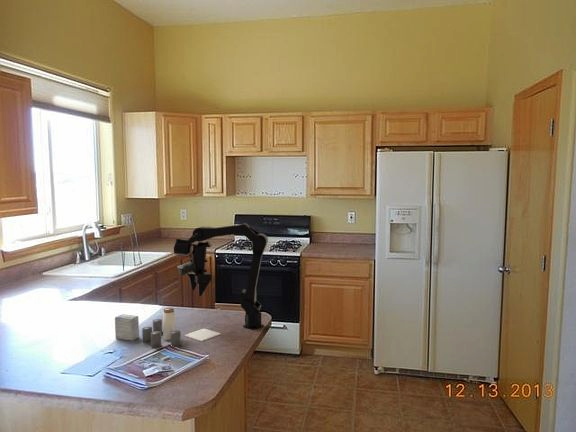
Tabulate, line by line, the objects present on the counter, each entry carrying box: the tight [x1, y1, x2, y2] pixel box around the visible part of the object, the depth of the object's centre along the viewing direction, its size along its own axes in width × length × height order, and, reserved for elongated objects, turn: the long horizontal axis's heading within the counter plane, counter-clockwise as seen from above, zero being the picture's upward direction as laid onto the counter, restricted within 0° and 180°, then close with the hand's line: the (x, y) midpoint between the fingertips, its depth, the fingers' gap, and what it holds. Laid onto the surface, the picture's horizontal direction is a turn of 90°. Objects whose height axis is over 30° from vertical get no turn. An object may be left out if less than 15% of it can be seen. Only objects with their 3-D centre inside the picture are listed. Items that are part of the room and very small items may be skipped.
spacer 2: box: [152, 318, 163, 334], centre depth 169 cm, size 4×4×5 cm
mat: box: [184, 328, 221, 342], centre depth 166 cm, size 10×10×1 cm
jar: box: [162, 307, 176, 341], centre depth 163 cm, size 4×4×12 cm
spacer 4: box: [170, 329, 182, 348], centre depth 156 cm, size 4×4×5 cm
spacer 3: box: [150, 331, 162, 349], centre depth 155 cm, size 4×4×5 cm
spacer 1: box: [141, 326, 153, 344], centre depth 160 cm, size 4×4×5 cm
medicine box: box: [114, 313, 140, 341], centre depth 163 cm, size 8×4×9 cm, turn 71°
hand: (196, 293), depth 177 cm, fingers open, 9 cm apart
